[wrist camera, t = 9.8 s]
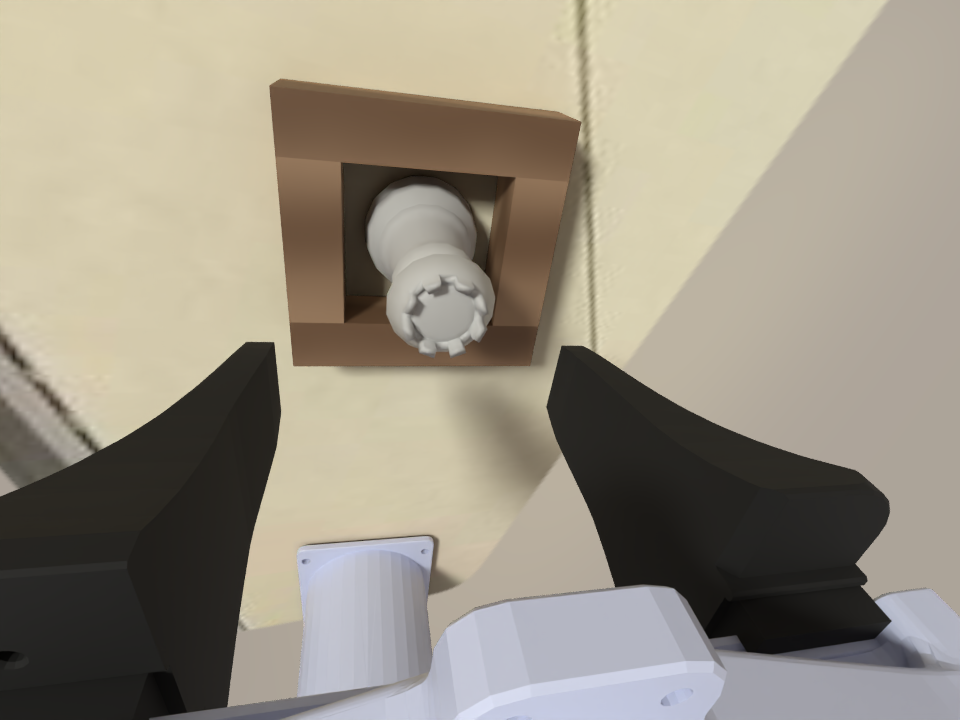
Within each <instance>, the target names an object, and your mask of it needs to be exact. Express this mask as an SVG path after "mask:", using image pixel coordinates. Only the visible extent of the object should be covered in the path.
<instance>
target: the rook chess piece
mask: <svg viewBox="0 0 960 720" xmlns="http://www.w3.org/2000/svg"><path fill="white" fill-rule="evenodd" d="M476 239H477V230H476V226H475V223H474V219H473V216H472V213H471V210H470V206H469V204H468V203H467V202H466V200H465V199H464V198H463V197H462V195H461V194H460V193H459V192H458V191H457V189H456V188H455V187H453V186H451V185H449V184H447V183H445V182H443V181H441V180H439V179H437V178H436V177H423V176H410V177H407V178H404V179H401V180H398V181H395V182H392V183H390V184H389V185H388V186H387V187H386V188H385V189H384V190H383V191H382V192H381V193H379V194H378V195H377V196H376V197H375V198H374V200H373V202H372V204H371V207H370V209H369V211H368V213H367V216H366V218H365V241H366V243H367V249H368V251H369V253H370V256H371V258H372V260H373V263H374V265H375V267H376V268H377V269H378V270H379V271H380V272H381V273H382V274H383V275H384V276H385V277H386V278H387V279H388V280H389V281H390V282H391V283H392V285H391V287H390V289H389V291H388V293H387V310H386V315H387V317H388V319H389V321H390V324H391V326H392V328H393V330H394V332H395V333H396V334H397V335H398V336H399V337H400V338H401V339H403V340H404V341H405V342H406V343H407V344H408V345H410V346H413V347H416V348H418V350H419V353H421V354H424V355H426V356H429V357H432V358H434V357H435V354H436V352H448V351H449V354H450V358H453V357H456V356H459V355H462V354H465V353H466V350H465V347H464V346H466V345H468V344H469V343H470V342H471V341H473V340H475V341H477V342H480V341H481V339H482V337H483V336H484V334H485V333H486V331H487V327H486V326H487V324H488V323H489V321H490V320H491V318H492V316H493V309H494V303H495V295H494V291H493V288H492V284H491V281H490V278H489V277H488V276H487V275H486V274H485V273H484V272H483V270H482V269H481V268H480V267H479V266H478V265H477V264H476V263H474V262H472V259H473V257H474V254H475V247H476Z"/></svg>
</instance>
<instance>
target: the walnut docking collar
mask: <svg viewBox="0 0 960 720" xmlns="http://www.w3.org/2000/svg"><path fill="white" fill-rule="evenodd" d="M270 98H271V110H272V122H273V133H274V145H275V157H276V168H277V180H278V192H279V204H280V215H281V227H282V239H283V250H284V262H285V274H286V286H287V297H288V309H289V321H290V332H291V344H292V356H293V366H530V364H531V359H532V354H533V349H534V345H535V340H536V335H537V330H538V326H539V321H540V316H541V311H542V307H543V302H544V297H545V292H546V288H547V283H548V278H549V273H550V269H551V264H552V259H553V254H554V250H555V245H556V240H557V235H558V231H559V226H560V221H561V216H562V212H563V207H564V202H565V197H566V193H567V188H568V183H569V178H570V174H571V169H572V164H573V159H574V155H575V150H576V145H577V140H578V136H579V131H580V126H581V122H580V121H578V120H576V119H573V118H571V117H569V116H566V115H564V114H562V113H560V112H555V111H546V110H538V109H530V108H521V107H513V106H505V105H496V104H488V103H480V102H471V101H463V100H455V99H446V98H438V97H430V96H421V95H413V94H404V93H396V92H388V91H379V90H371V89H363V88H354V87H346V86H338V85H329V84H321V83H313V82H304V81H296V80H287V79H279V80H278V81H276V82H275V83H273V84H271V85H270ZM343 162H344V163H356V164H367V165H379V166H390V167H402V168H413V169H425V170H437V171H448V172H460V173H471V174H483V175H494V176H498V182H497V189H496V196H495V204H494V211H493V218H492V225H491V233H490V240H489V247H488V254H487V262H486V269H485V274H486V275H487V276H488V277H489V278H490V281H491V284H492V288H493V291H494V295H495V303H494V309H493V316H492V318H491V320H490V321H489V323H488V324H487V326H486V327H487V331H486V333H485V334H484V336H483V337H482V339H481V341H480V342H477V341H475V340H473V341H471V342H470V343H469V344H468V345H466V346H464V347H465V350H466V353H465V354H462V355H459V356H456V357H453V358H450V354H449V351H448V352H436V354H435V357H434V358H432V357H429V356H426V355H424V354H421V353H419V350H418V348H416V347H413V346H410V345H408V344H407V343H406V342H405V341H404V340H403V339H401V338H400V337H399V336H398V335H397V334H396V333H395V332H394V330H393V328H392V326H391V324H390V321H389V319H388V317H387V315H386V310H387V297H385V296H350V295H346V284H345V230H344V175H343Z"/></svg>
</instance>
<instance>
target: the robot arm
mask: <svg viewBox="0 0 960 720" xmlns="http://www.w3.org/2000/svg"><path fill="white" fill-rule="evenodd" d="M547 410H548V414H549V418H550V421H551V425H552V428H553V431H554V434H555V437H556V440H557V442H558V444H559V446H560V449H561V451H562V453H563V455H564V457H565V459H566V461H567V464H568V466H569V468H570V470H571V472H572V474H573V476H574V478H575V480H576V482H577V485H578V487H579V489H580V491H581V493H582V495H583V497H584V499H585V501H586V503H587V506H588V508H589V510H590V513H591V515H592V517H593V520H594V523H595V526H596V529H597V532H598V534H599V537H600V541H601V543H602V546H603V549H604V552H605V555H606V559H607V562H608V565H609V568H610V571H611V575H612V578H613V581H614V584H615V588H606V589H597V590H588V591H579V592H569V593H561V594H552V595H542V596H533V597H524V598H514V599H506V600H502V601H498V602H495V603H491V604H487V605H483V606H479V607H476V608H474V609H472V610H471V611H469V612H467V613H466V614H464V615H463V616H461V617H460V618H458V619H457V620H455V621H453V622H452V623H450V624H449V626H448V627H447V628H446V629H445V631H444V633H443V634H442V636H441V637H440V639H439V641H438V642H437V644H436V646H435V647H434V650H433V656H432V649H431V639H430V631H429V622H428V612H427V599H428V591H429V582H430V573H431V565H432V556H433V548H434V543H433V538H432V537H429V536H419V537H407V538H394V539H381V540H369V541H356V542H343V543H331V544H318V545H306V546H302V547H300V548H299V549H298V551H297V564H298V573H299V582H300V592H301V601H302V611H303V620H304V630H303V641H302V651H301V661H300V671H299V681H298V693H297V697H295V698H288V699H281V700H274V701H267V702H260V703H253V704H246V705H239V706H232V707H227V705H228V697H229V688H230V680H231V672H232V665H233V656H234V650H235V641H236V635H237V627H238V620H239V614H240V607H241V600H242V593H243V587H244V580H245V574H246V568H247V562H248V556H249V549H250V544H251V539H252V535H253V531H254V526H255V523H256V519H257V516H258V512H259V508H260V505H261V501H262V498H263V494H264V491H265V487H266V484H267V480H268V476H269V473H270V469H271V465H272V462H273V458H274V454H275V451H276V447H277V440H278V432H279V425H280V417H281V405H280V395H279V385H278V375H277V365H276V355H275V345H274V342H246V343H245V344H244V345H242V346H241V347H240V348H239V349H238V350H237V351H236V352H234V353H233V354H232V355H231V356H230V357H229V358H228V359H227V360H226V361H225V362H224V363H223V364H221V365H220V366H219V367H218V368H217V369H216V370H215V371H214V372H213V373H211V374H210V375H209V376H208V377H207V378H206V379H205V380H203V381H202V382H201V383H200V384H199V385H198V386H196V387H195V388H194V389H193V390H192V391H190V392H189V393H188V394H186V395H185V396H184V397H183V398H181V399H180V400H179V401H177V402H176V403H175V404H173V405H172V406H171V407H170V408H168V409H167V410H166V411H164V412H163V413H161V414H160V415H158V416H157V417H156V418H154V419H153V420H151V421H150V422H148V423H146V424H145V425H143V426H142V427H140V428H138V429H137V430H135V431H134V432H132V433H131V434H129V435H127V436H126V437H124V438H122V439H120V440H119V441H117V442H115V443H113V444H111V445H109V446H107V447H106V448H104V449H102V450H100V451H98V452H96V453H94V454H92V455H91V456H89V457H87V458H85V459H83V460H81V461H79V462H77V463H75V464H73V465H71V466H69V467H67V468H65V469H63V470H61V471H59V472H56V473H54V474H52V475H50V476H48V477H46V478H43V479H41V480H39V481H36V482H34V483H32V484H29V485H27V486H25V487H22V488H20V489H18V490H15V491H13V492H10V493H8V494H6V495H3V496H1V497H0V720H960V617H959V616H958V615H957V614H956V613H955V612H954V611H953V610H952V609H951V608H950V607H949V606H948V605H947V604H946V603H945V602H944V601H943V600H942V599H941V598H940V597H939V596H938V595H937V594H936V593H935V592H934V591H933V590H932V589H929V588H920V589H911V590H905V591H897V592H889V593H886V594H882V595H880V596H879V597H877V598H875V599H874V600H873V599H872V598H871V597H870V596H869V595H868V594H867V593H866V592H865V590H864V589H863V588H862V587H861V586H860V585H865V583H866V582H867V576H866V575H865V574H864V573H863V572H862V571H861V570H860V569H859V568H858V566H857V565H856V564H855V563H856V562H857V561H858V560H859V559H860V557H861V556H862V554H864V552H865V551H866V550H867V549H868V548H869V546H870V545H871V544H872V543H873V541H874V540H875V539H876V538H877V536H878V535H879V534H880V532H881V531H882V529H883V528H884V526H885V525H886V523H887V520H888V517H889V513H890V507H889V501H888V499H887V498H886V497H885V495H884V494H883V493H882V492H881V491H879V490H878V489H877V488H876V487H875V486H874V485H873V484H872V483H871V482H869V481H868V480H867V479H866V478H865V477H864V476H863V475H861V474H860V473H859V472H857V471H855V470H852V469H848V468H845V467H841V466H837V465H833V464H829V463H825V462H822V461H817V460H814V459H810V458H807V457H803V456H800V455H797V454H794V453H791V452H787V451H784V450H782V449H778V448H775V447H772V446H769V445H767V444H764V443H761V442H758V441H756V440H753V439H751V438H748V437H746V436H743V435H741V434H738V433H736V432H733V431H731V430H728V429H726V428H724V427H721V426H719V425H717V424H715V423H712V422H710V421H708V420H706V419H704V418H702V417H700V416H698V415H696V414H694V413H692V412H690V411H688V410H686V409H684V408H683V407H681V406H679V405H677V404H675V403H674V402H672V401H670V400H668V399H667V398H665V397H663V396H662V395H660V394H658V393H657V392H655V391H653V390H652V389H650V388H648V387H647V386H645V385H644V384H642V383H641V382H639V381H637V380H636V379H634V378H633V377H631V376H630V375H628V374H627V373H625V372H624V371H622V370H621V369H619V368H618V367H616V366H615V365H613V364H612V363H610V362H609V361H607V360H606V359H604V358H603V357H601V356H599V355H598V354H596V353H595V352H593V351H591V350H590V349H588V348H586V347H584V346H561V350H560V354H559V358H558V363H557V367H556V371H555V375H554V379H553V383H552V387H551V391H550V395H549V399H548V403H547Z"/></svg>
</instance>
